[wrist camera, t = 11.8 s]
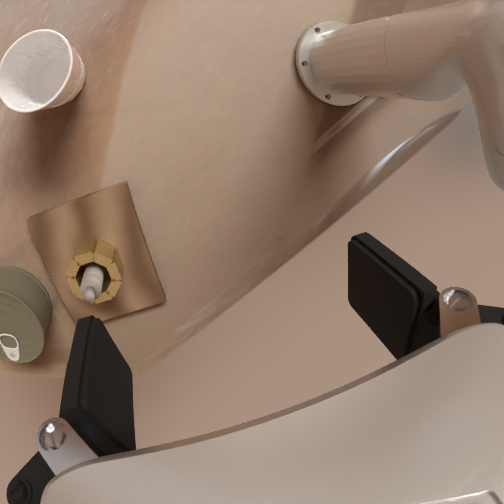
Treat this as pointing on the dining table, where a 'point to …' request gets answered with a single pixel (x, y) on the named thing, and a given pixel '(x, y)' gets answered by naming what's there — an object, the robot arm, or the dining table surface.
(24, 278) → the can
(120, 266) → the ring
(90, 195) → the post block
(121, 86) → the dining table surface
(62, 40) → the white cup
